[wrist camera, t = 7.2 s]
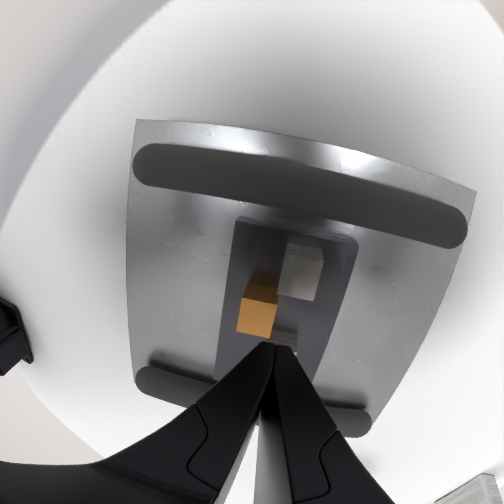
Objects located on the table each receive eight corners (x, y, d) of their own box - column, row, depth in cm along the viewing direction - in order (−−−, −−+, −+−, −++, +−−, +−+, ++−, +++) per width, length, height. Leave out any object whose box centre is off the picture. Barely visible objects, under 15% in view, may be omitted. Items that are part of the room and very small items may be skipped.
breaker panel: (150, 358, 17) (119, 405, 13) (162, 123, 13) (107, 115, 8) (362, 402, 16) (371, 457, 12) (450, 184, 11) (504, 200, 7)
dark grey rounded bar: (143, 181, 11) (122, 186, 9) (148, 141, 10) (126, 141, 9) (448, 245, 10) (467, 259, 8) (459, 208, 9) (479, 216, 8)
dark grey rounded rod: (143, 376, 15) (131, 394, 13) (141, 356, 14) (128, 374, 13) (362, 422, 14) (366, 443, 12) (374, 404, 13) (379, 426, 11)
